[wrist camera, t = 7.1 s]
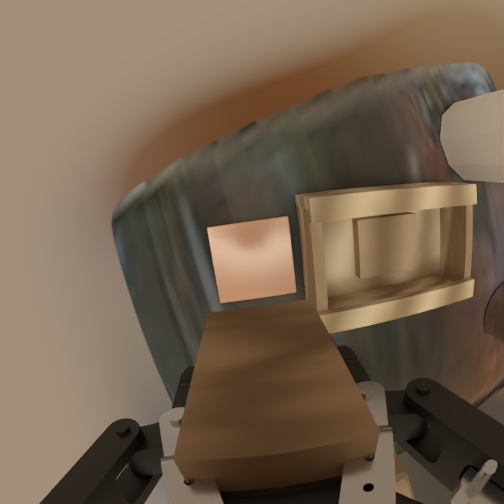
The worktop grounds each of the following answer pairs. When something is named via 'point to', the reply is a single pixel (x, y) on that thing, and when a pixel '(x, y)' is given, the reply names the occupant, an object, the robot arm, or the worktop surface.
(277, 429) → the walnut block
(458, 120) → the toilet paper
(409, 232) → the crate
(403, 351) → the worktop surface
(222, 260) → the tile
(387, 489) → the robot arm
